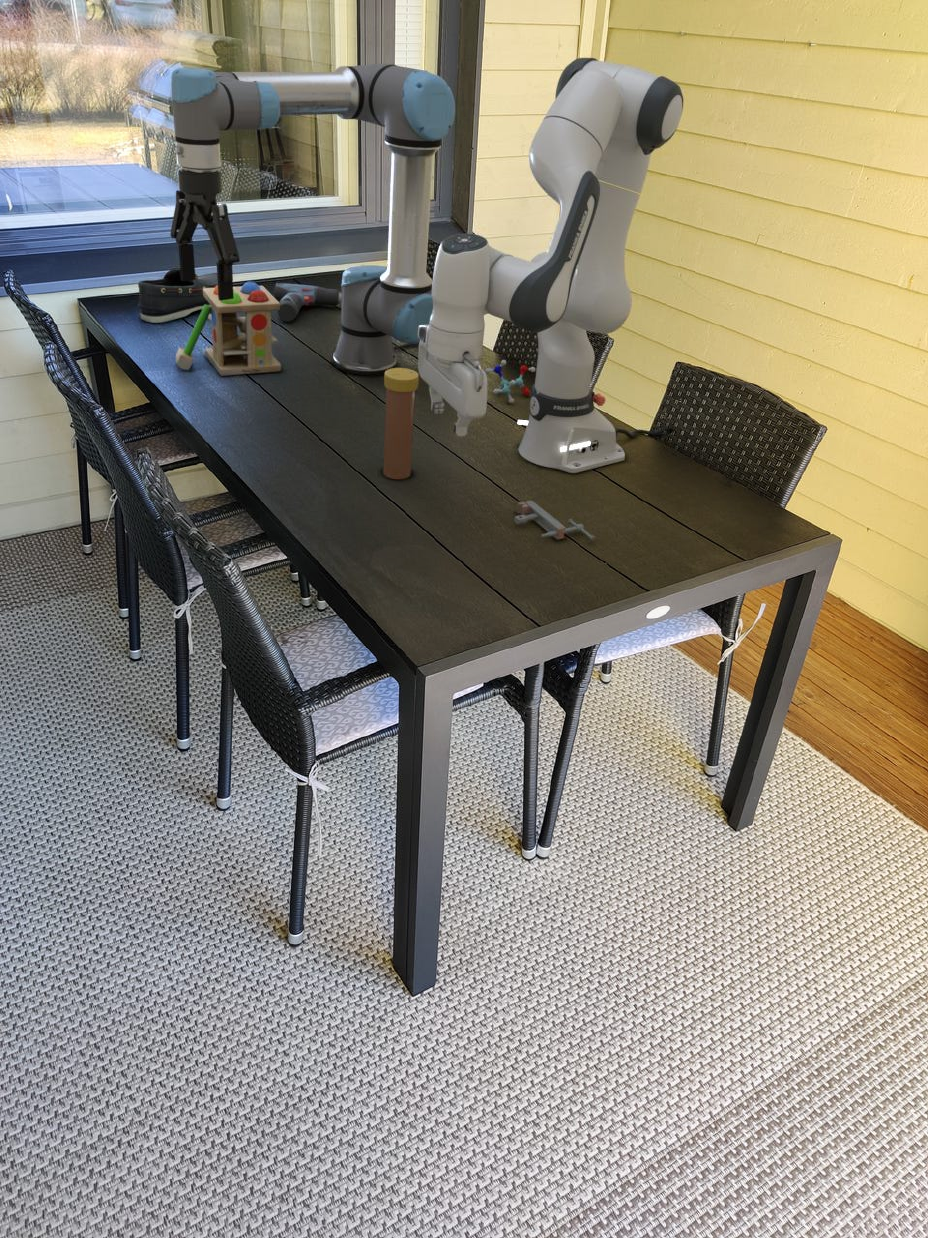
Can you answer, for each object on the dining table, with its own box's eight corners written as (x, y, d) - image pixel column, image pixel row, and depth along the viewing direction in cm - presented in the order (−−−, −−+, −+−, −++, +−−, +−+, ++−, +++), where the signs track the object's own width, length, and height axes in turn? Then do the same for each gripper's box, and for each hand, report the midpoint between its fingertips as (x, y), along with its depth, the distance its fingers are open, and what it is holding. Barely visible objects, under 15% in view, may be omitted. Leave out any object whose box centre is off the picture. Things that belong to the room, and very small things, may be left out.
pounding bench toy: (183, 379, 220) (176, 299, 210) (169, 357, 231) (162, 280, 221) (282, 371, 230) (280, 294, 220) (264, 350, 240) (262, 276, 230)
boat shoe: (248, 301, 272) (246, 262, 267) (158, 325, 248) (153, 283, 243) (214, 293, 278) (211, 255, 272) (123, 315, 254) (117, 274, 248)
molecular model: (531, 395, 220) (517, 352, 219) (493, 409, 224) (479, 367, 222) (543, 394, 231) (530, 352, 229) (507, 407, 234) (494, 366, 233)
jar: (408, 467, 194) (414, 371, 183) (412, 479, 189) (418, 381, 178) (381, 467, 193) (385, 370, 182) (384, 479, 188) (388, 381, 177)
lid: (415, 379, 184) (416, 367, 183) (420, 392, 179) (421, 380, 178) (382, 379, 183) (382, 367, 182) (385, 391, 178) (386, 379, 176)
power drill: (335, 306, 256) (344, 285, 273) (264, 300, 255) (277, 279, 272) (335, 327, 259) (344, 304, 276) (264, 320, 258) (277, 299, 275)
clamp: (504, 504, 179) (549, 495, 183) (503, 515, 180) (548, 506, 184) (550, 543, 168) (597, 532, 173) (548, 554, 169) (595, 543, 174)
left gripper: (145, 155, 179) (155, 274, 191) (217, 183, 164) (224, 310, 176) (182, 153, 183) (190, 269, 195) (256, 180, 169) (260, 304, 181)
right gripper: (501, 363, 151) (491, 446, 159) (448, 321, 166) (441, 399, 174) (464, 366, 148) (456, 450, 156) (413, 323, 163) (408, 402, 171)
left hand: (206, 289), depth 186 cm, fingers open, 13 cm apart
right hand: (448, 423), depth 165 cm, fingers open, 8 cm apart
